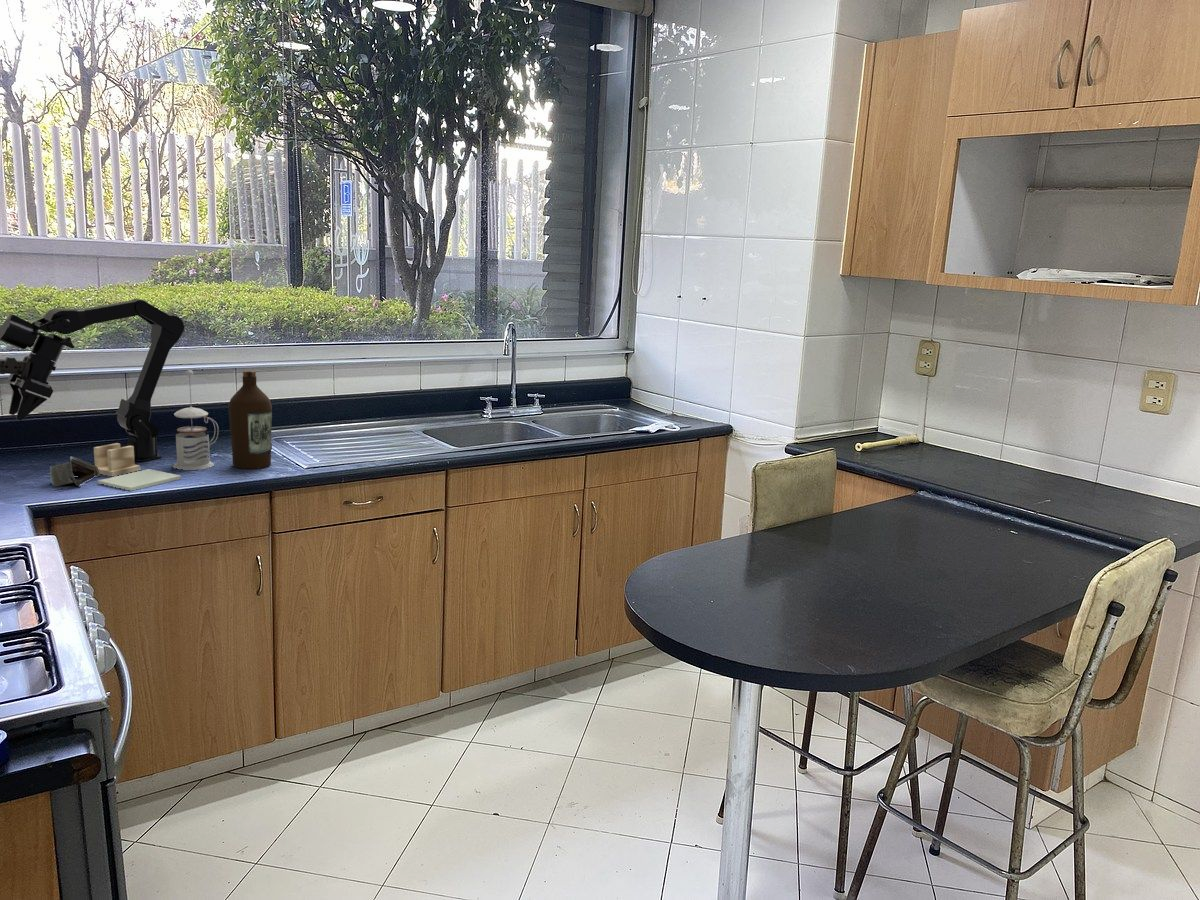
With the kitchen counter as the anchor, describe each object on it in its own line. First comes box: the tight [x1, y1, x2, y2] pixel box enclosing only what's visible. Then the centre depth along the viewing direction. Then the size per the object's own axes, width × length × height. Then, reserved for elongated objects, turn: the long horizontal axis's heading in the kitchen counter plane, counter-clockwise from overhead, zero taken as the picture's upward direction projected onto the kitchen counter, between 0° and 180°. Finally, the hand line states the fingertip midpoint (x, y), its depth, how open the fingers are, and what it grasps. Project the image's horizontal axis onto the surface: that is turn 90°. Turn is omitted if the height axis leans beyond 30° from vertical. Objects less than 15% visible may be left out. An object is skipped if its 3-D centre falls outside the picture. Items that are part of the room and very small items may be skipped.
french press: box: [172, 369, 220, 471], centre depth 231 cm, size 10×12×25 cm
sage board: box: [97, 468, 182, 492], centre depth 215 cm, size 14×11×1 cm
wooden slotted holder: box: [93, 442, 142, 477], centre depth 222 cm, size 8×8×6 cm
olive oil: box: [228, 369, 273, 470], centre depth 234 cm, size 11×11×25 cm
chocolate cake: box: [49, 455, 101, 488], centre depth 211 cm, size 10×7×12 cm
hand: (14, 417), depth 214 cm, fingers open, 9 cm apart
